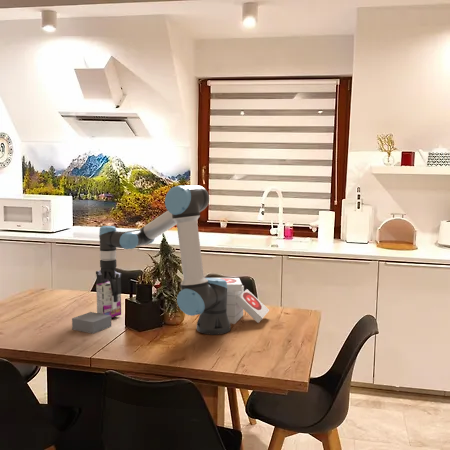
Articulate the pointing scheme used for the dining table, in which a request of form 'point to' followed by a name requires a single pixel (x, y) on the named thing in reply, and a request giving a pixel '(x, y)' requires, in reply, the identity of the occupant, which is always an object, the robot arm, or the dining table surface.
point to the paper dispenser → (242, 302)
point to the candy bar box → (107, 300)
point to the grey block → (91, 322)
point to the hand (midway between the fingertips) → (109, 307)
